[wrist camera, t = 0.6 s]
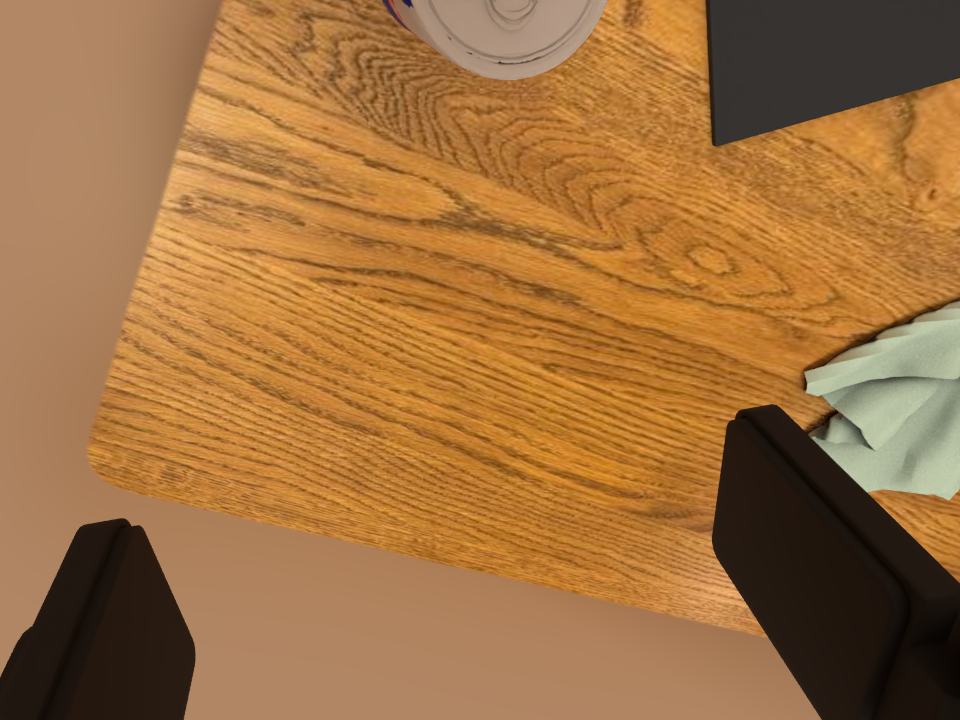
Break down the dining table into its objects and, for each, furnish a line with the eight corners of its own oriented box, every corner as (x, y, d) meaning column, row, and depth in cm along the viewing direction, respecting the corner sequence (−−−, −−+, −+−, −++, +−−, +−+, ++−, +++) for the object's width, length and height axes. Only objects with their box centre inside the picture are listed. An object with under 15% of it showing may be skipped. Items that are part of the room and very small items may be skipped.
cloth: (1115, 340, 48) (1150, 357, 45) (888, 554, 55) (910, 577, 53) (954, 198, 39) (989, 210, 37) (713, 471, 47) (730, 494, 45)
